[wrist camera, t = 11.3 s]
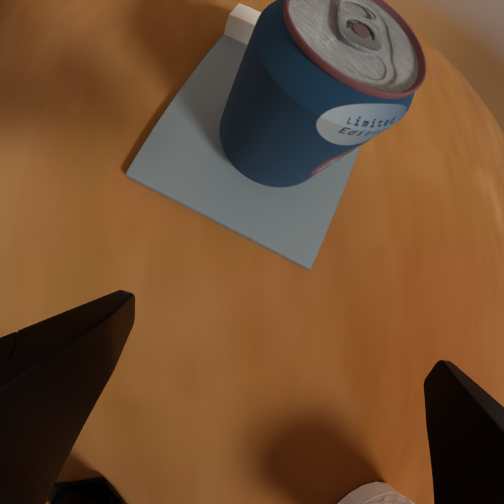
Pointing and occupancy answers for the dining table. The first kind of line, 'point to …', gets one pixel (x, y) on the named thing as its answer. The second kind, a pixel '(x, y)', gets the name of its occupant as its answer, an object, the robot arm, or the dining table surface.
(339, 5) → the soda can
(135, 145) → the dining table surface
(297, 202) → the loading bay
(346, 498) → the white cup
